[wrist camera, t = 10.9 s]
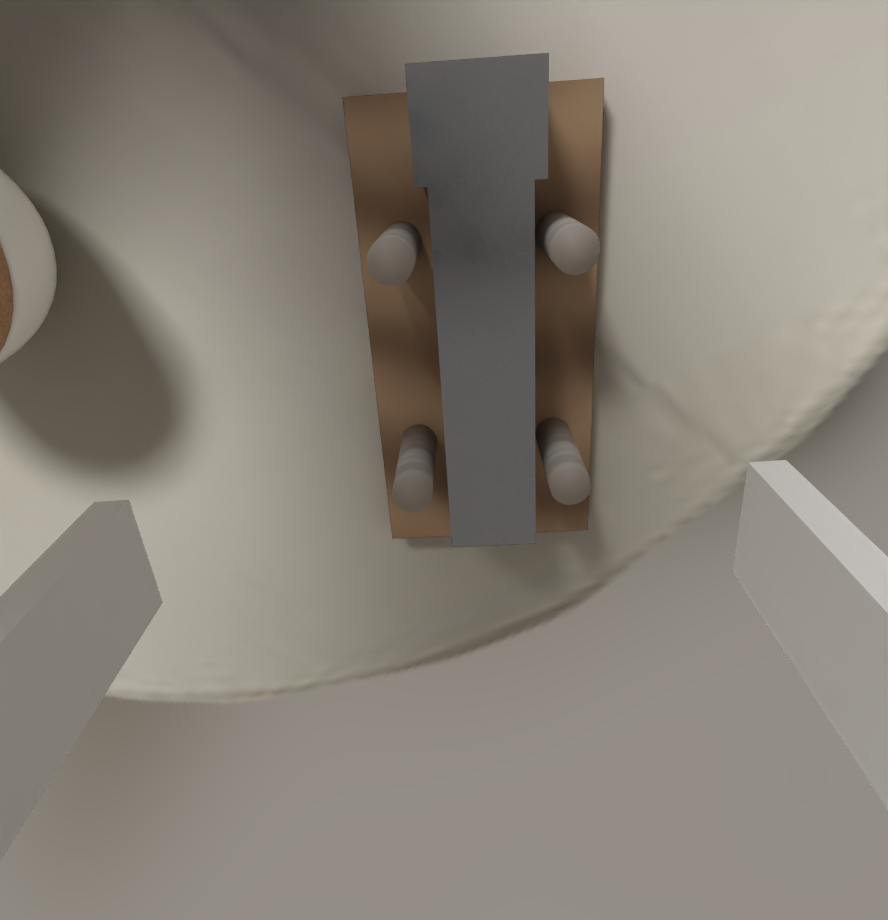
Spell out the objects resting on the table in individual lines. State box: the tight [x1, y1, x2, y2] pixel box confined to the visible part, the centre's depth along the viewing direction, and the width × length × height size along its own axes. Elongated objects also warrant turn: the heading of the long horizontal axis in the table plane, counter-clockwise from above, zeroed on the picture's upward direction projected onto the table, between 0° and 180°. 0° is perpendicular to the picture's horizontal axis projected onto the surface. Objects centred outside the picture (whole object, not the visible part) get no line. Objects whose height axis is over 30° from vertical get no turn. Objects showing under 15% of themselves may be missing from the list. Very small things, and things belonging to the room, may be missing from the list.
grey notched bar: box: [405, 53, 549, 547], centre depth 29 cm, size 20×5×5 cm, turn 4°
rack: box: [343, 78, 604, 539], centre depth 30 cm, size 22×11×8 cm, turn 4°
